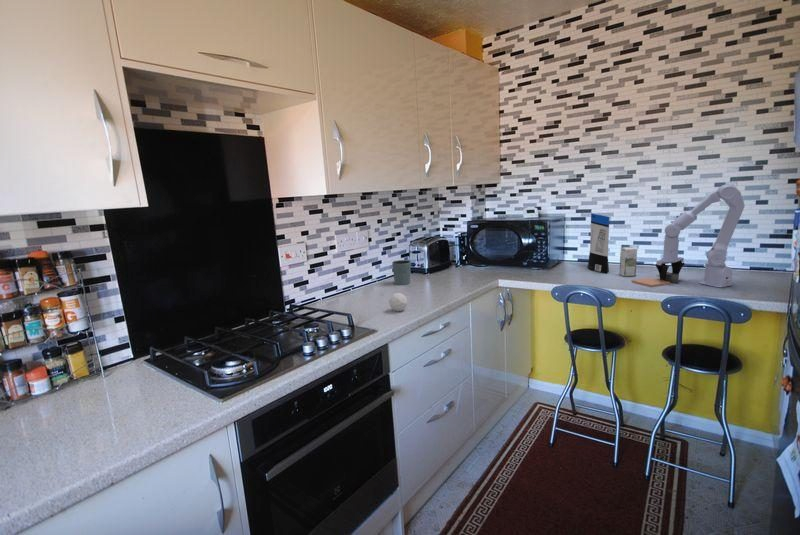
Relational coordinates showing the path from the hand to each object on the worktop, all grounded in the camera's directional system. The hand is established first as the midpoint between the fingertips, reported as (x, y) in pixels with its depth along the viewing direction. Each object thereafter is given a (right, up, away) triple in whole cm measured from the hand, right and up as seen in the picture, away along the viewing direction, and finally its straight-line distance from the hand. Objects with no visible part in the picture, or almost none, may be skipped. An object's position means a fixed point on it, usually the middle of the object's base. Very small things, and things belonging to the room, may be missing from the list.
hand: (668, 278), depth 196 cm
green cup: (-125, -4, +30) cm, 129 cm away
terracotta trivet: (-9, -2, 0) cm, 9 cm away
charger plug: (0, -2, 0) cm, 2 cm away
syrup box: (-10, +1, +17) cm, 20 cm away
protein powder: (-17, +4, +34) cm, 39 cm away
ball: (-128, -14, -18) cm, 130 cm away
